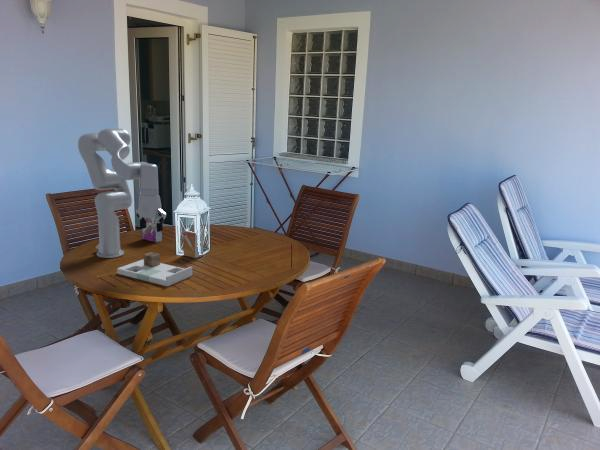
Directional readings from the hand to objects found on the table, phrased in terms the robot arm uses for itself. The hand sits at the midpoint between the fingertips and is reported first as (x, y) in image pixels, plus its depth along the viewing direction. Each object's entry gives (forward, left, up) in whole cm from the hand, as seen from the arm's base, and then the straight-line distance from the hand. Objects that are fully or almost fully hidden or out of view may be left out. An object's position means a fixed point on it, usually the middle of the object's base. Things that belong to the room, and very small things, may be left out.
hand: (151, 229), depth 218 cm
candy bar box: (-35, +37, -19) cm, 54 cm away
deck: (+5, -4, -19) cm, 20 cm away
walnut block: (0, 0, -17) cm, 17 cm away
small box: (+1, +28, -19) cm, 34 cm away
